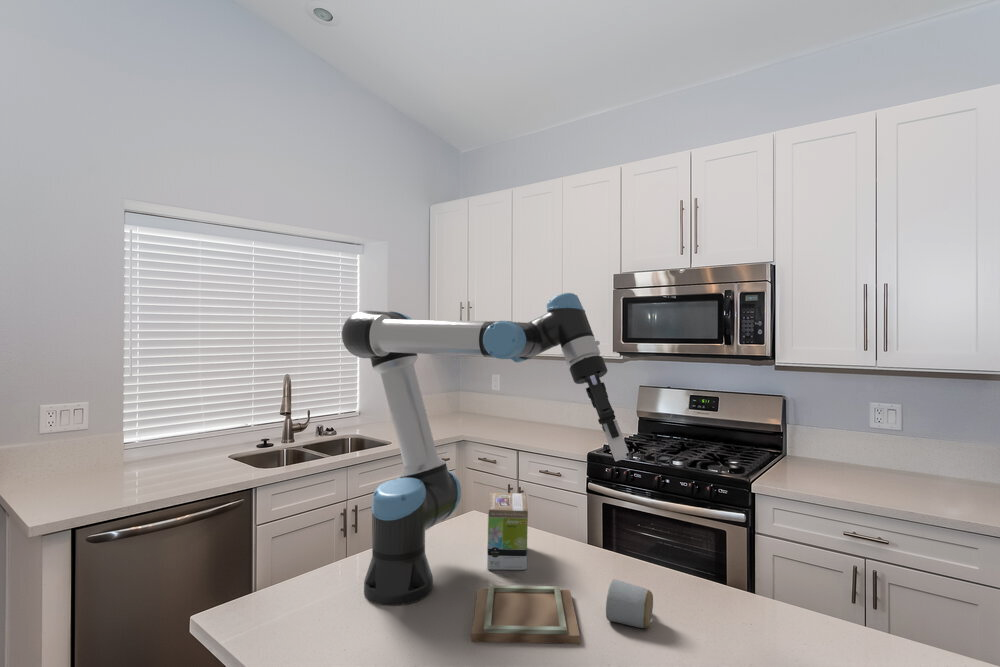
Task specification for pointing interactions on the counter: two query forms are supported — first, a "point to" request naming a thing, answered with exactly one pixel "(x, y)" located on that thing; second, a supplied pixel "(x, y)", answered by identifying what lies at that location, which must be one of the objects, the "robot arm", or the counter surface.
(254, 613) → the counter surface
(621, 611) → the ceramic mug
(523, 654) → the counter surface
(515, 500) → the tea box
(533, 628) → the board
